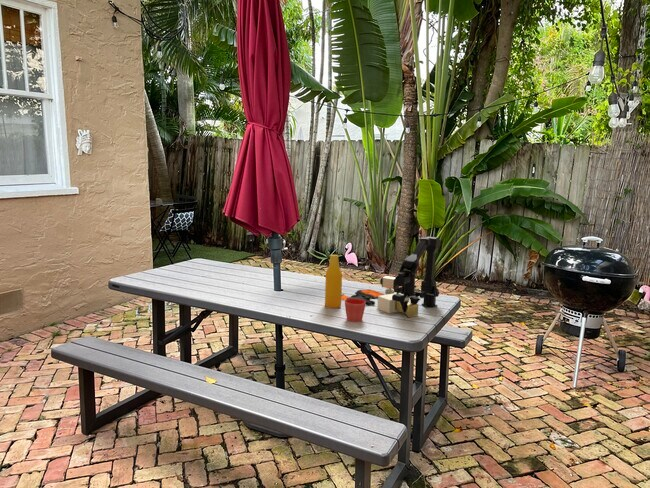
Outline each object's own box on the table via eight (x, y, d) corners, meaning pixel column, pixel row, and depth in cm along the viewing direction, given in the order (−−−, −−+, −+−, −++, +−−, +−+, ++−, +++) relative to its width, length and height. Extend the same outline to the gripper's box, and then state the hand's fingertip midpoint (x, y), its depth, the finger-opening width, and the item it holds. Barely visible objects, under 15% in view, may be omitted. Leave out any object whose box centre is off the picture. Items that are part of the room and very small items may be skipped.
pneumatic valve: (395, 297, 284) (396, 277, 282) (379, 293, 291) (380, 275, 289) (400, 295, 288) (401, 276, 286) (384, 292, 295) (384, 273, 294)
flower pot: (363, 316, 244) (364, 298, 243) (366, 323, 233) (366, 304, 232) (343, 316, 244) (344, 298, 242) (345, 322, 233) (345, 304, 231)
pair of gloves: (361, 291, 298) (362, 286, 297) (394, 298, 282) (395, 293, 282) (335, 299, 277) (335, 294, 276) (369, 308, 261) (369, 302, 261)
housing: (396, 305, 267) (397, 292, 266) (408, 309, 258) (409, 296, 257) (377, 308, 259) (377, 295, 258) (389, 313, 251) (389, 300, 250)
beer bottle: (322, 304, 265) (323, 254, 261) (337, 303, 268) (338, 253, 264) (328, 308, 256) (329, 257, 252) (343, 307, 260) (345, 256, 255)
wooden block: (396, 307, 261) (396, 296, 260) (417, 315, 247) (418, 304, 246) (387, 309, 258) (387, 298, 257) (408, 317, 243) (409, 305, 243)
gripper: (411, 278, 258) (410, 305, 260) (385, 281, 248) (384, 310, 250) (426, 282, 249) (424, 310, 251) (399, 286, 239) (398, 315, 241)
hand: (407, 311), depth 248 cm, fingers closed on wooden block, 5 cm apart
